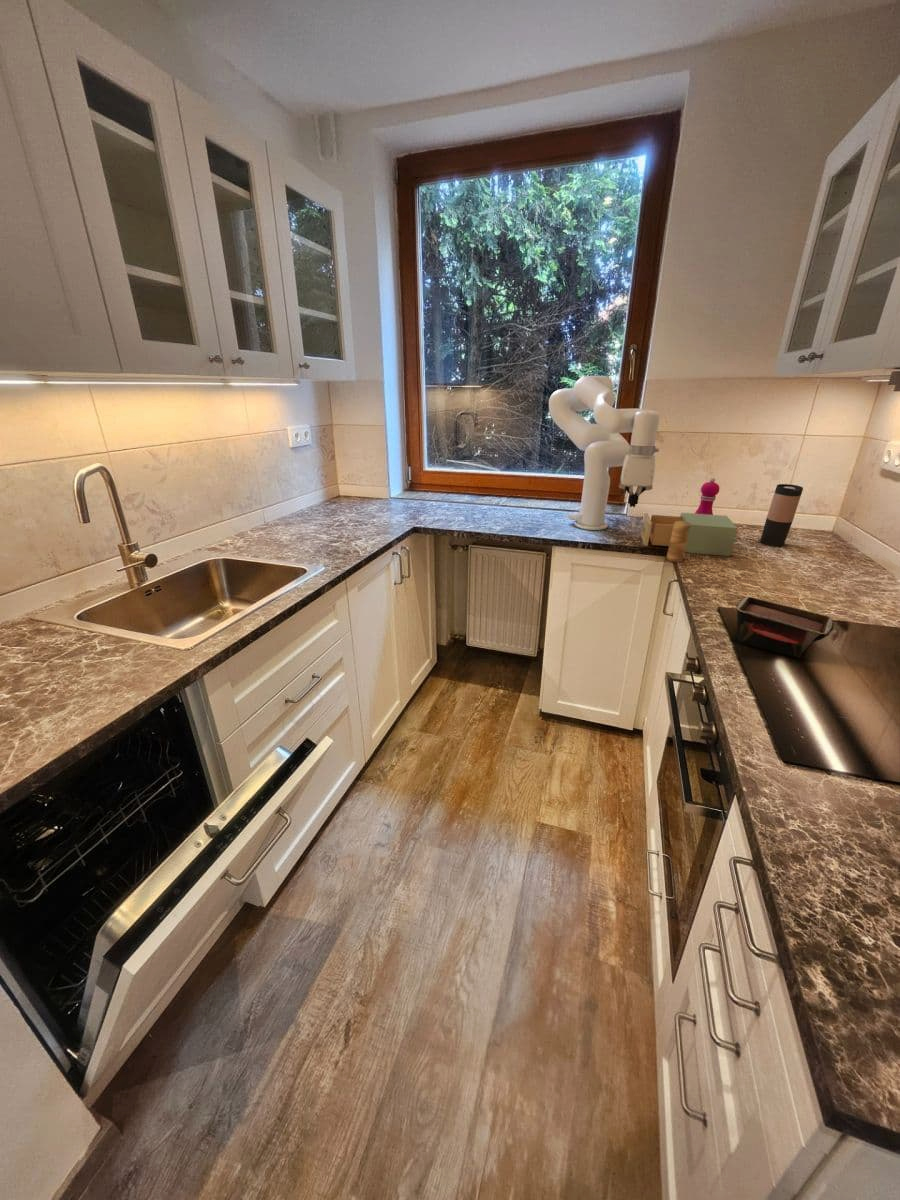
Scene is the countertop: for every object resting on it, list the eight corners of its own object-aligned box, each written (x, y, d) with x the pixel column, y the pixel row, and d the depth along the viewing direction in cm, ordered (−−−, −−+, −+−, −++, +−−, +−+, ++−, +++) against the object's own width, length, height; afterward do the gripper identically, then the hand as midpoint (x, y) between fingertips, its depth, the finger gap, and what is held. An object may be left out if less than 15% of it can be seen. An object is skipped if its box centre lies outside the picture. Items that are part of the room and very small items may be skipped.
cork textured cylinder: (667, 561, 151) (675, 524, 145) (665, 555, 155) (673, 520, 149) (683, 562, 149) (692, 526, 144) (681, 557, 154) (689, 521, 148)
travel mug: (762, 538, 171) (780, 482, 162) (787, 543, 166) (806, 486, 157) (756, 543, 166) (773, 486, 158) (781, 548, 161) (800, 490, 153)
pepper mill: (713, 534, 175) (728, 480, 166) (694, 534, 175) (707, 479, 166) (704, 528, 182) (718, 475, 173) (686, 528, 182) (698, 475, 173)
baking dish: (745, 625, 117) (748, 588, 113) (835, 643, 104) (843, 602, 100) (723, 650, 108) (726, 611, 105) (819, 673, 96) (826, 629, 92)
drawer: (630, 544, 162) (634, 522, 158) (628, 532, 173) (631, 512, 170) (686, 549, 158) (691, 526, 154) (679, 536, 169) (684, 515, 166)
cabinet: (682, 552, 158) (688, 524, 154) (675, 538, 171) (681, 512, 166) (729, 556, 155) (737, 528, 150) (719, 542, 167) (726, 515, 163)
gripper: (664, 450, 156) (653, 504, 164) (617, 448, 160) (609, 502, 168) (667, 453, 150) (656, 510, 157) (618, 451, 153) (610, 507, 161)
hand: (632, 505), depth 162 cm, fingers closed
